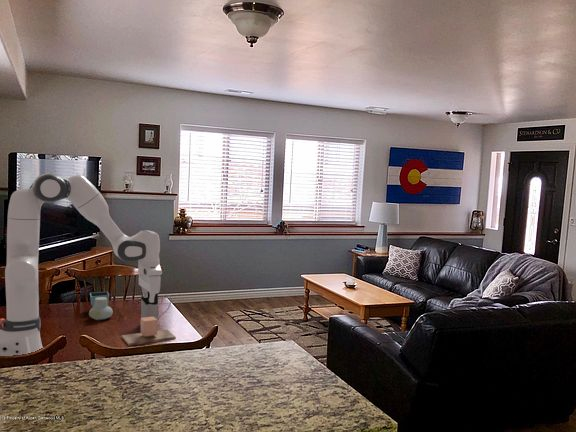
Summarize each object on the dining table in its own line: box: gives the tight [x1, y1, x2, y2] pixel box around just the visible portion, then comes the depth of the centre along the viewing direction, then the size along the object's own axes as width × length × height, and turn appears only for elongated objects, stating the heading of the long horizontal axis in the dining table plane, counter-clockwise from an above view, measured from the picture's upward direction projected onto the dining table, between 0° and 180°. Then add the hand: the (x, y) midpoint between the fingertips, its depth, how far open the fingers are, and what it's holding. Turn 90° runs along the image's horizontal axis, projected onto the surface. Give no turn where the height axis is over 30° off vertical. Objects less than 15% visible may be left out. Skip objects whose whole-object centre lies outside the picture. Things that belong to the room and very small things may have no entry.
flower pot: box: [89, 291, 110, 309], centre depth 260 cm, size 9×9×9 cm
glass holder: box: [139, 291, 172, 326], centre depth 241 cm, size 9×14×15 cm, turn 109°
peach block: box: [140, 316, 158, 336], centre depth 219 cm, size 6×6×7 cm
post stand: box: [121, 328, 177, 347], centre depth 220 cm, size 20×12×8 cm, turn 121°
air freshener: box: [88, 297, 114, 321], centre depth 247 cm, size 11×8×10 cm
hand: (148, 299), depth 218 cm, fingers open, 8 cm apart
